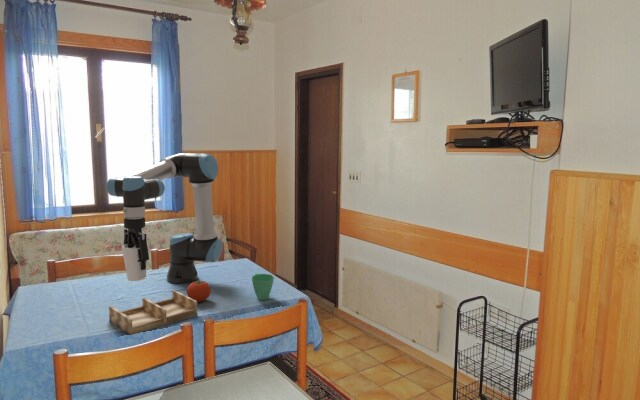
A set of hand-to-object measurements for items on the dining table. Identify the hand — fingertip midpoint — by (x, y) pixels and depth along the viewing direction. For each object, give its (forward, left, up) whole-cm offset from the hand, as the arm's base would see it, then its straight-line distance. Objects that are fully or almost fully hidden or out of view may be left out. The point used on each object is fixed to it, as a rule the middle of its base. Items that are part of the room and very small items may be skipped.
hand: (136, 274), depth 176 cm
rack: (0, +7, -19) cm, 21 cm away
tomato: (-4, +30, -20) cm, 36 cm away
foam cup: (0, 0, -2) cm, 2 cm away
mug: (+10, +54, -20) cm, 58 cm away
